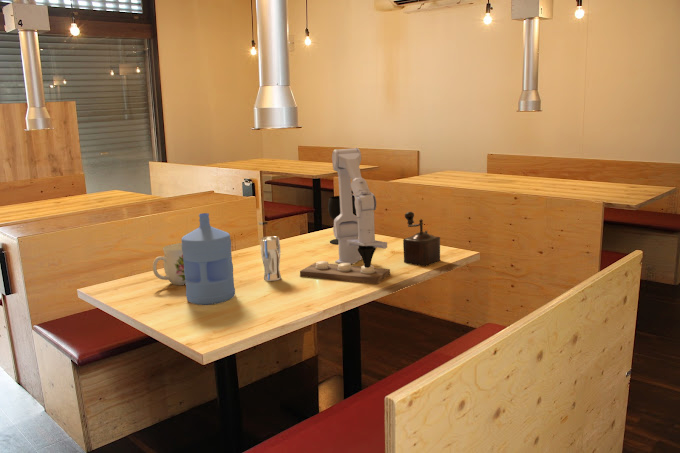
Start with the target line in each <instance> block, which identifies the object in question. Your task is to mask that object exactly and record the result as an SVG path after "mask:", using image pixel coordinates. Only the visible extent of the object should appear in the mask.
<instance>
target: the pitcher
mask: <svg viewBox="0 0 680 453" xmlns="http://www.w3.org/2000/svg"><path fill="white" fill-rule="evenodd" d="M162 251H163V253H164V256H157V257H155V258H154V260H153V262H152V272H153V274H154V276H155V277H156V278H158V279H159V280H162V281H163V280H165V281H169V283H171V285H173V286H184V284H185V285H186V282H185V275H184V261H183V252H182V242H179V243H178V242H177V243H174V244H173V243H172V244H168V245H165V246H164V247H163V248H162ZM159 261H162V262H163V270H164V273H165V275H162V274H160V273H159V272H158V269H157V264H158V262H159Z"/></svg>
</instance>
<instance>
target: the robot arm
mask: <svg viewBox="0 0 680 453" xmlns="http://www.w3.org/2000/svg"><path fill="white" fill-rule="evenodd" d="M361 152H362V151H361V149H359V147H354V148H342V149H341V148H339V149H335V148H334V150H333V151H332V155H331V160H332V161H331V162H332V168H333V169H332V170H333V171H335V172H337V177H338V179H337V180H338V192H339V193H338V194H339V195H338V196H339V197H340V215H339V216H337V217H336V218H335V219H334V220H333V228H332V231H333V235H334V239H338V244H339V245H338V259H337V260H335V261H334V262H335V263H334V264H340V263H350V264H351V265H355V264H356V263H358V262H359V261H361V260H362V262H363V266H365V267H367V268H369V267H370V266H371V265H372V260H373V257H374V254H375V252H376V249H378V248H379V249H385V250H386V249H387V248H388V242H387V241H382V240H376V233H375V232H376V230H375V211H376V209H377V198H376V195H375V194H374V193H373V192H372V191H370V188H369V186H368V182H367V180H366V179H365V178H363V177H362V172H361V169H360V165H361V162H362V153H361ZM353 196H354V209H355V214H356V215H355V214H354V213H353V212H354V211H353V210H354V209H353ZM341 222H343V223H341Z"/></svg>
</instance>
